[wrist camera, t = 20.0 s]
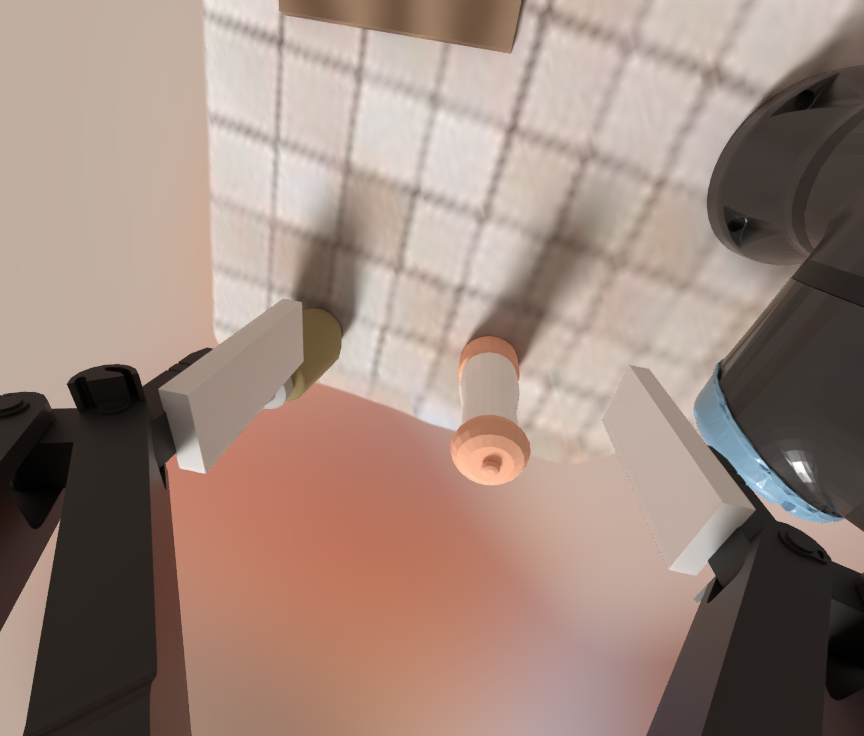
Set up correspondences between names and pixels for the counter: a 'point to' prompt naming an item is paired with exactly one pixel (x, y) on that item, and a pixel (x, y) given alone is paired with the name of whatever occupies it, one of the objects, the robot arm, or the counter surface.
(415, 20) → the collar board
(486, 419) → the pepper shaker
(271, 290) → the counter surface
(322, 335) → the squeeze bottle
